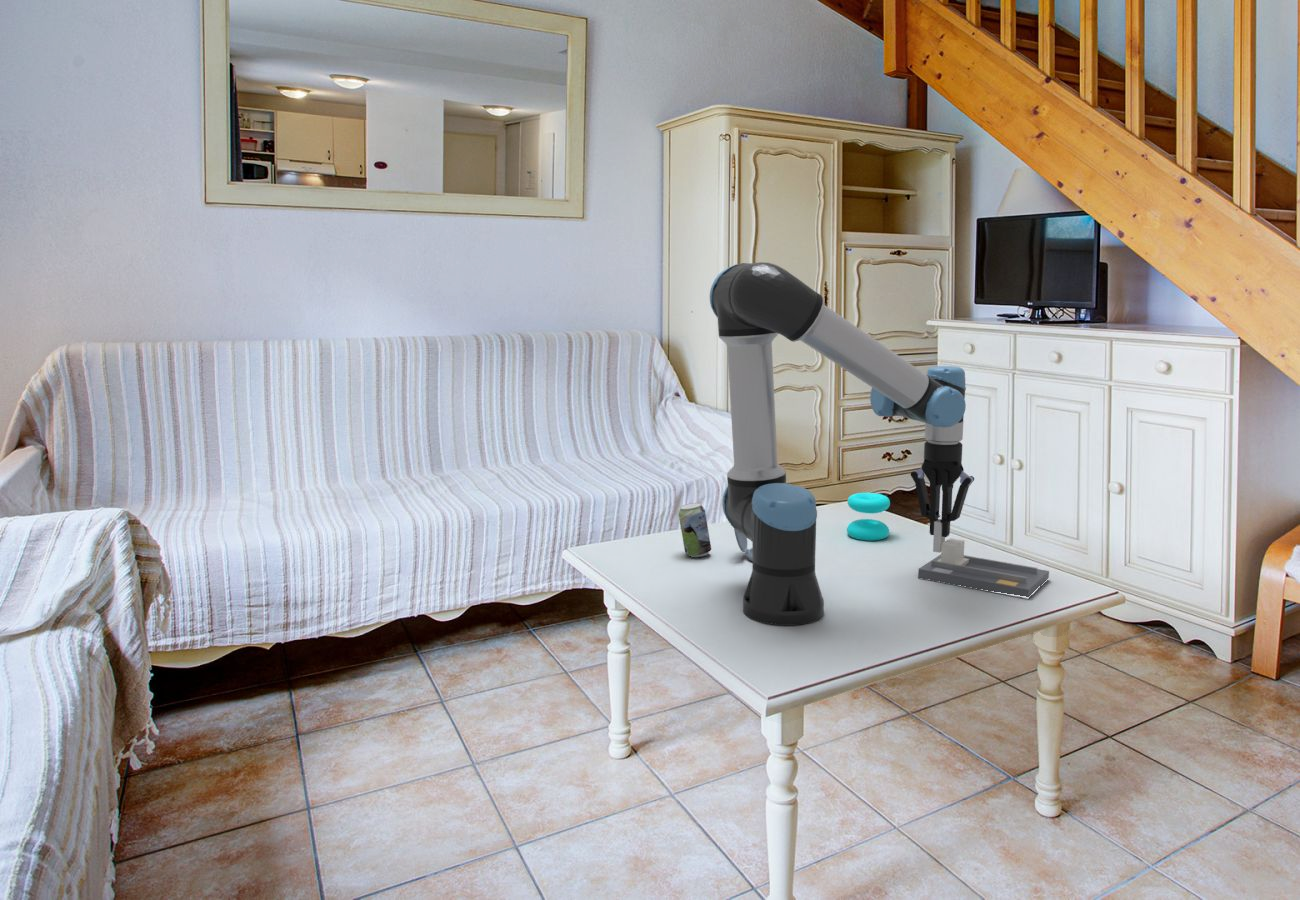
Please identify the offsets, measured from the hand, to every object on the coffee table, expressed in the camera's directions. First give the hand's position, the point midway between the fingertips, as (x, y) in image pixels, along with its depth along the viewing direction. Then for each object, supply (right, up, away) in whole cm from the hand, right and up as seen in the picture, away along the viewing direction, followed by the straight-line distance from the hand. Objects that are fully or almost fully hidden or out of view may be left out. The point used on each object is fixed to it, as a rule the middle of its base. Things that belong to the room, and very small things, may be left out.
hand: (938, 550), depth 191 cm
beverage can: (-51, -3, +14) cm, 53 cm away
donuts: (-8, 0, +27) cm, 29 cm away
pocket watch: (-35, -3, +11) cm, 37 cm away
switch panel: (+7, -5, -5) cm, 11 cm away
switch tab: (+2, -3, -1) cm, 4 cm away
